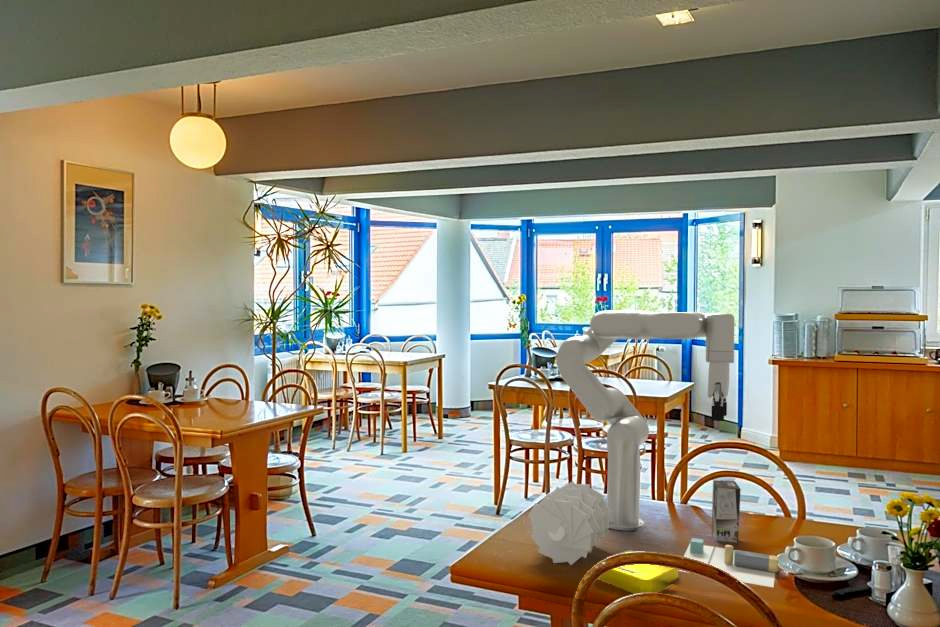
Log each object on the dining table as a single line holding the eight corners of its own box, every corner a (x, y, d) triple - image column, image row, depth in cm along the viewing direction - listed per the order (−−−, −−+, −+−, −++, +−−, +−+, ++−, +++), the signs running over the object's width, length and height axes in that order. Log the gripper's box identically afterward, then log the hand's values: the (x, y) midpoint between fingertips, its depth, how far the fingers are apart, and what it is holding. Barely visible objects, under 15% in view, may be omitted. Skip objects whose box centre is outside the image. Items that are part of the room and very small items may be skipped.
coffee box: (739, 547, 203) (741, 488, 203) (714, 544, 204) (716, 487, 204) (734, 536, 212) (736, 480, 212) (710, 534, 213) (712, 479, 213)
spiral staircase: (595, 556, 204) (571, 584, 181) (541, 520, 211) (511, 542, 188) (626, 500, 201) (606, 521, 178) (571, 466, 208) (544, 481, 185)
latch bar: (734, 565, 185) (734, 553, 185) (735, 561, 188) (735, 549, 188) (777, 572, 181) (777, 560, 181) (777, 568, 184) (778, 556, 183)
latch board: (676, 575, 181) (677, 552, 181) (689, 547, 202) (690, 527, 202) (773, 592, 172) (774, 568, 172) (776, 561, 193) (777, 540, 192)
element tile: (593, 580, 178) (593, 560, 178) (628, 565, 188) (628, 546, 188) (647, 600, 167) (648, 579, 167) (681, 583, 178) (681, 563, 177)
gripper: (708, 354, 216) (708, 413, 216) (702, 358, 200) (701, 421, 200) (736, 355, 213) (735, 414, 213) (731, 359, 197) (731, 423, 197)
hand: (719, 418), depth 206 cm, fingers open, 9 cm apart
